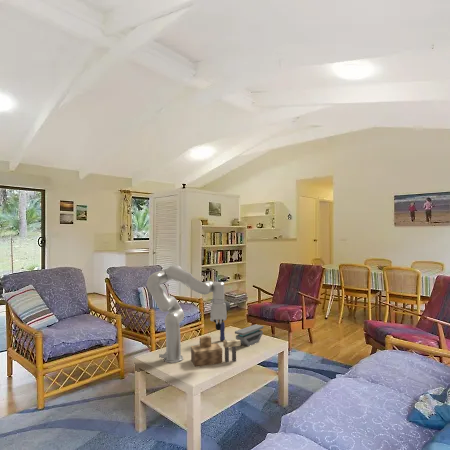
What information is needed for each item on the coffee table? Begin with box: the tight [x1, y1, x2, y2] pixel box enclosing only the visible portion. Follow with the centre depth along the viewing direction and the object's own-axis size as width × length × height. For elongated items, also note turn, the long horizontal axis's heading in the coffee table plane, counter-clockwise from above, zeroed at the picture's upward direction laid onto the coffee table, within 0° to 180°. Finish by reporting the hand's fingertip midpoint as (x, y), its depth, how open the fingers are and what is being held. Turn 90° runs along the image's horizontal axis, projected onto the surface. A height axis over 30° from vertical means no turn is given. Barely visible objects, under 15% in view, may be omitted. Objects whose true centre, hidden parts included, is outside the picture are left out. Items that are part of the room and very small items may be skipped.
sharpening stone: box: [234, 324, 265, 347], centre depth 257 cm, size 25×8×11 cm, turn 137°
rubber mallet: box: [219, 301, 231, 342], centre depth 264 cm, size 12×8×30 cm, turn 131°
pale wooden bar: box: [222, 339, 242, 349], centre depth 222 cm, size 11×3×4 cm, turn 107°
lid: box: [190, 335, 223, 354], centre depth 222 cm, size 18×12×8 cm, turn 107°
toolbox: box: [190, 346, 237, 368], centre depth 223 cm, size 28×12×10 cm, turn 107°
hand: (218, 329), depth 220 cm, fingers closed
